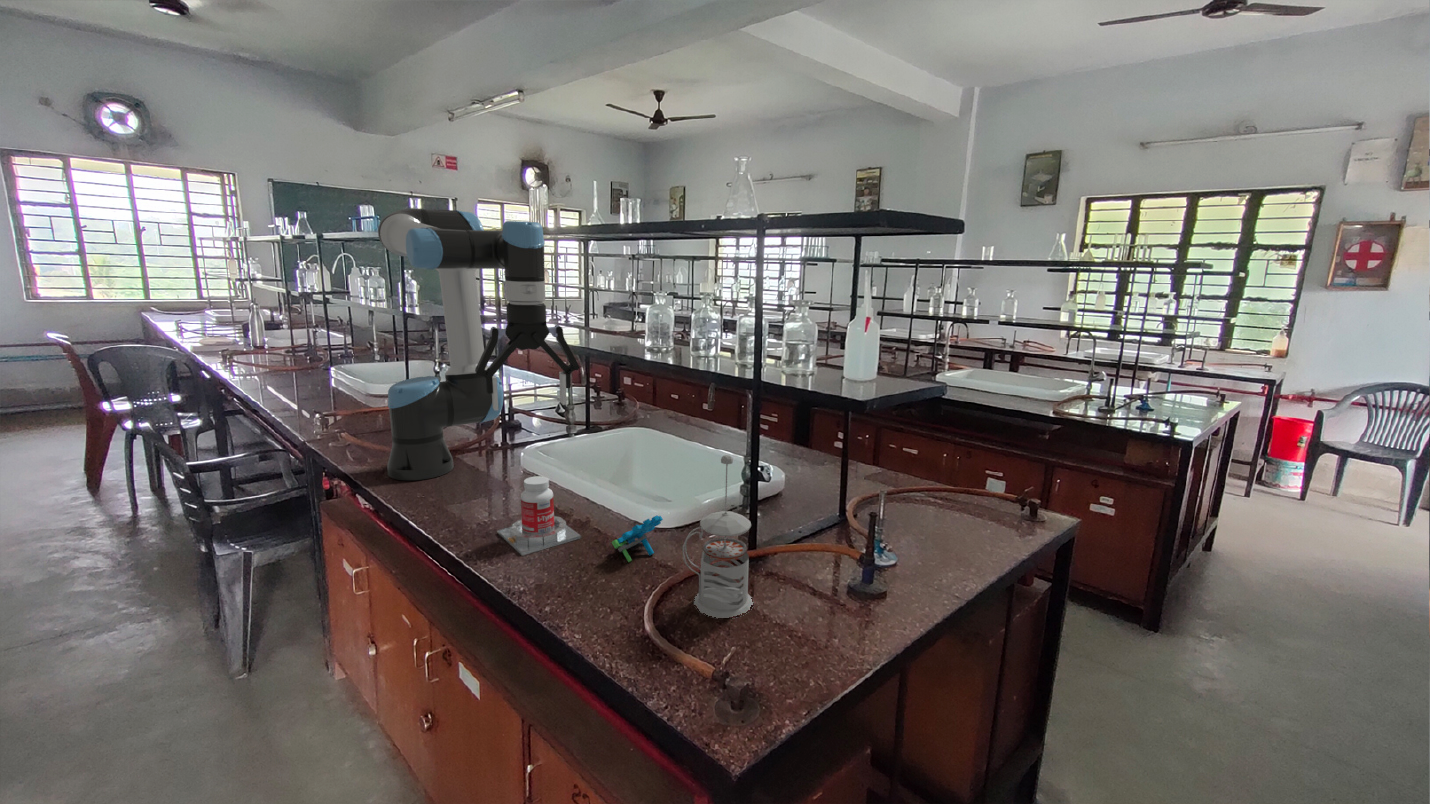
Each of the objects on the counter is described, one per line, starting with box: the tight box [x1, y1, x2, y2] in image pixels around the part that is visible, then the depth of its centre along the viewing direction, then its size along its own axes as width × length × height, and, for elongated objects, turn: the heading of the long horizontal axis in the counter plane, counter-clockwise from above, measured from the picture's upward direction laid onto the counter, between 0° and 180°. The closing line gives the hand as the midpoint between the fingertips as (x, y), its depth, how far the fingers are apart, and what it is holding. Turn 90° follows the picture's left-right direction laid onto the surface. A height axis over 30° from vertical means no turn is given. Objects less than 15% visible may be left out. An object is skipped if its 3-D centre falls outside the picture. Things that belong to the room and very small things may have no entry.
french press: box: [682, 454, 754, 619], centre depth 99 cm, size 10×12×25 cm
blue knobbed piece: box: [611, 515, 664, 563], centre depth 117 cm, size 11×6×10 cm
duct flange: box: [497, 515, 582, 557], centre depth 123 cm, size 12×12×2 cm
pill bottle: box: [520, 475, 555, 535], centre depth 122 cm, size 6×6×11 cm
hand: (530, 406), depth 129 cm, fingers open, 13 cm apart
